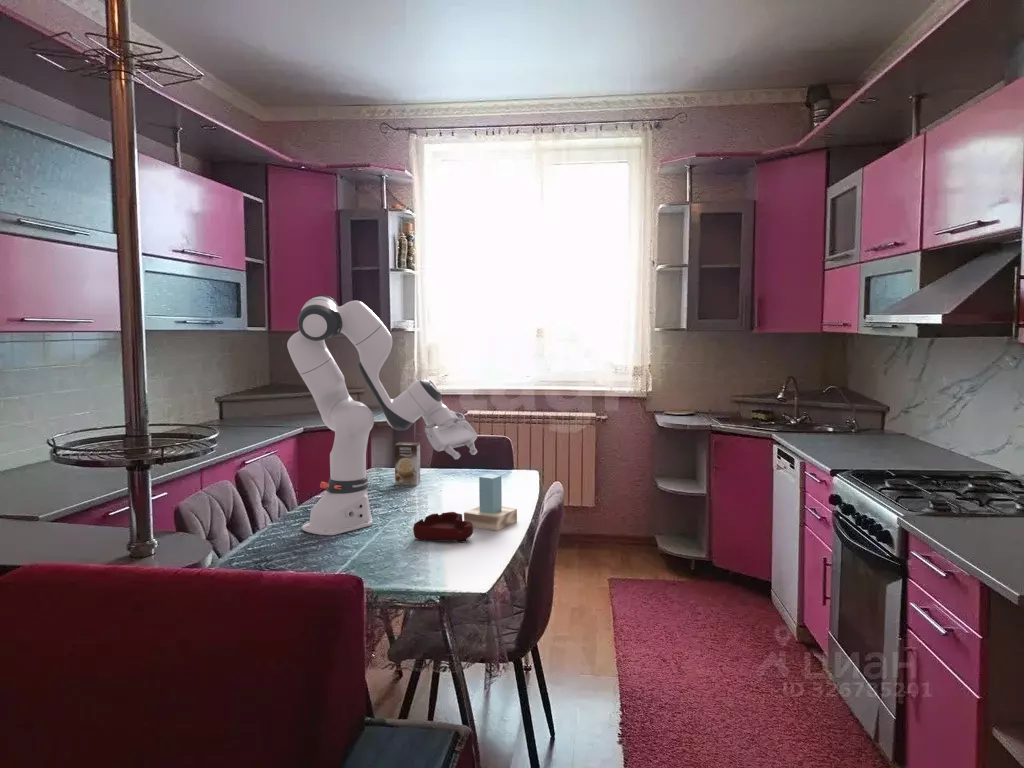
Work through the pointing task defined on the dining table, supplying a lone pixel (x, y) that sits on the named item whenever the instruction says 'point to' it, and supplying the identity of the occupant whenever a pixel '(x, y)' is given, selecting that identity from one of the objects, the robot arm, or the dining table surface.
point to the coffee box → (407, 463)
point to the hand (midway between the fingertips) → (466, 455)
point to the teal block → (490, 493)
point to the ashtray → (443, 528)
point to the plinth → (491, 518)
